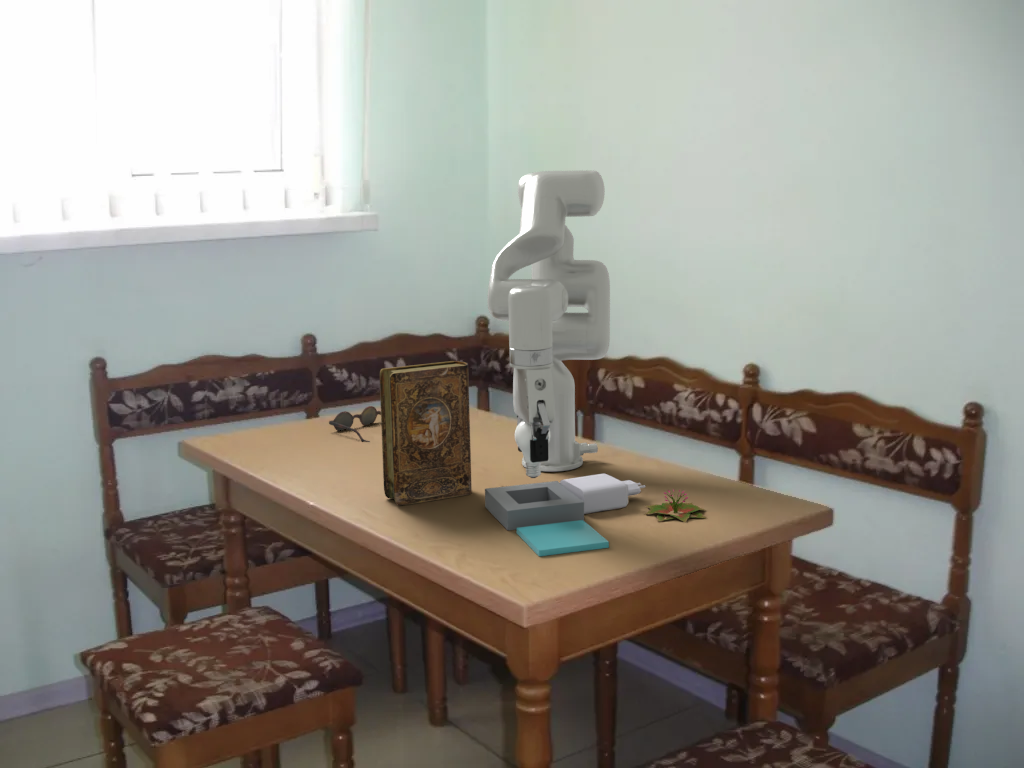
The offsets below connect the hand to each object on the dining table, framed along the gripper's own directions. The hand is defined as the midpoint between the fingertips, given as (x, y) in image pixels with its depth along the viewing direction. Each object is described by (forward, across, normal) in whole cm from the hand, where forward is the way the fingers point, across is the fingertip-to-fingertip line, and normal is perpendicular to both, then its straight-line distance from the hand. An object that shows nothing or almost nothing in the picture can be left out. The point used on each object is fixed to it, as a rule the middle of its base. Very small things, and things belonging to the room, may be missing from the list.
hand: (533, 455), depth 201 cm
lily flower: (+12, -9, -24) cm, 28 cm away
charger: (+11, +1, -15) cm, 19 cm away
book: (+11, +16, +15) cm, 25 cm away
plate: (+10, -16, 0) cm, 19 cm away
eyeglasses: (+13, +71, +16) cm, 74 cm away
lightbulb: (+4, 0, 0) cm, 4 cm away
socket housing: (+11, -1, 0) cm, 11 cm away
